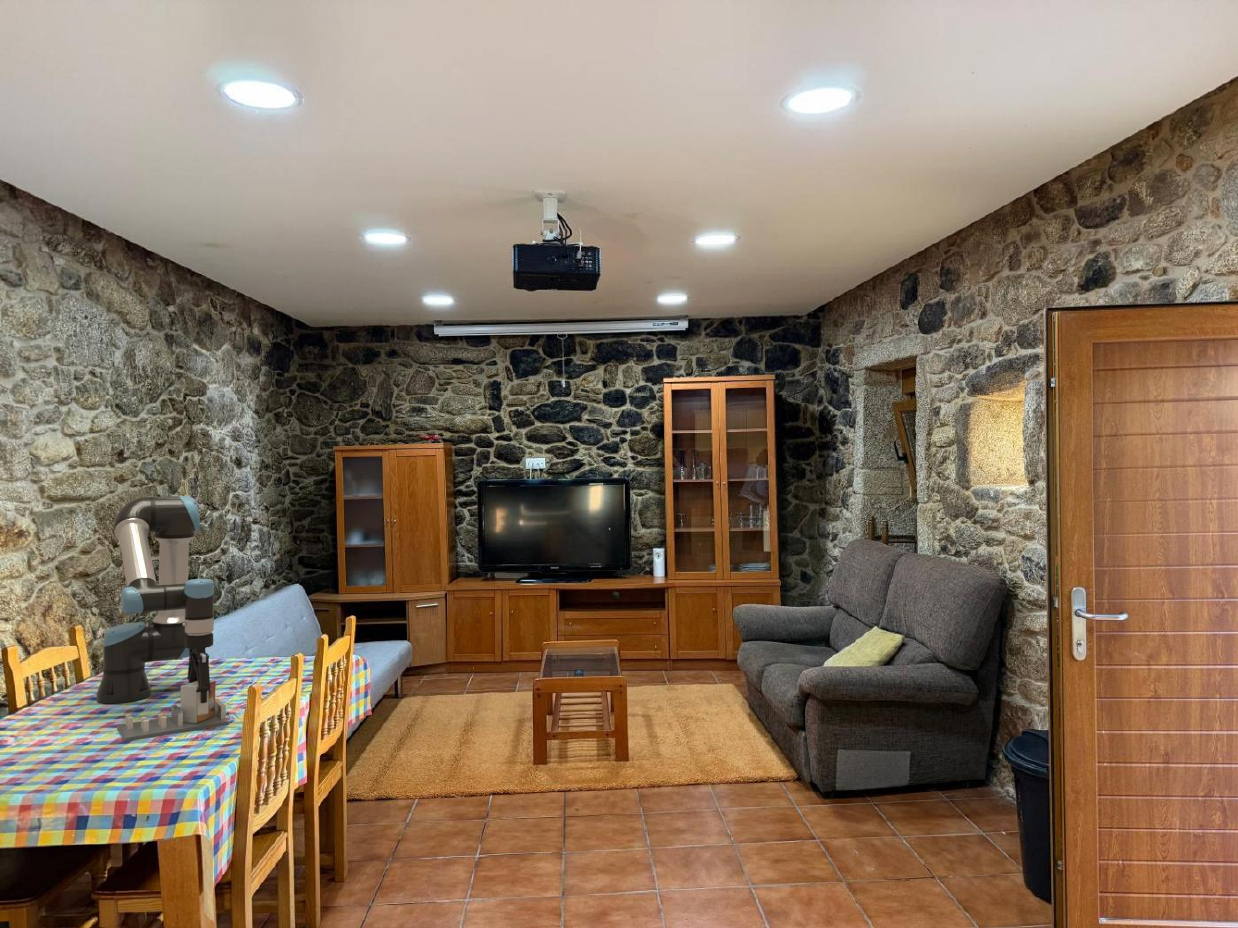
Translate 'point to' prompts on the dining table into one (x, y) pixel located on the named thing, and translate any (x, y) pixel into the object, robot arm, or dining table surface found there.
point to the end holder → (178, 714)
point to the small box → (191, 703)
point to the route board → (161, 727)
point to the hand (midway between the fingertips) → (198, 709)
